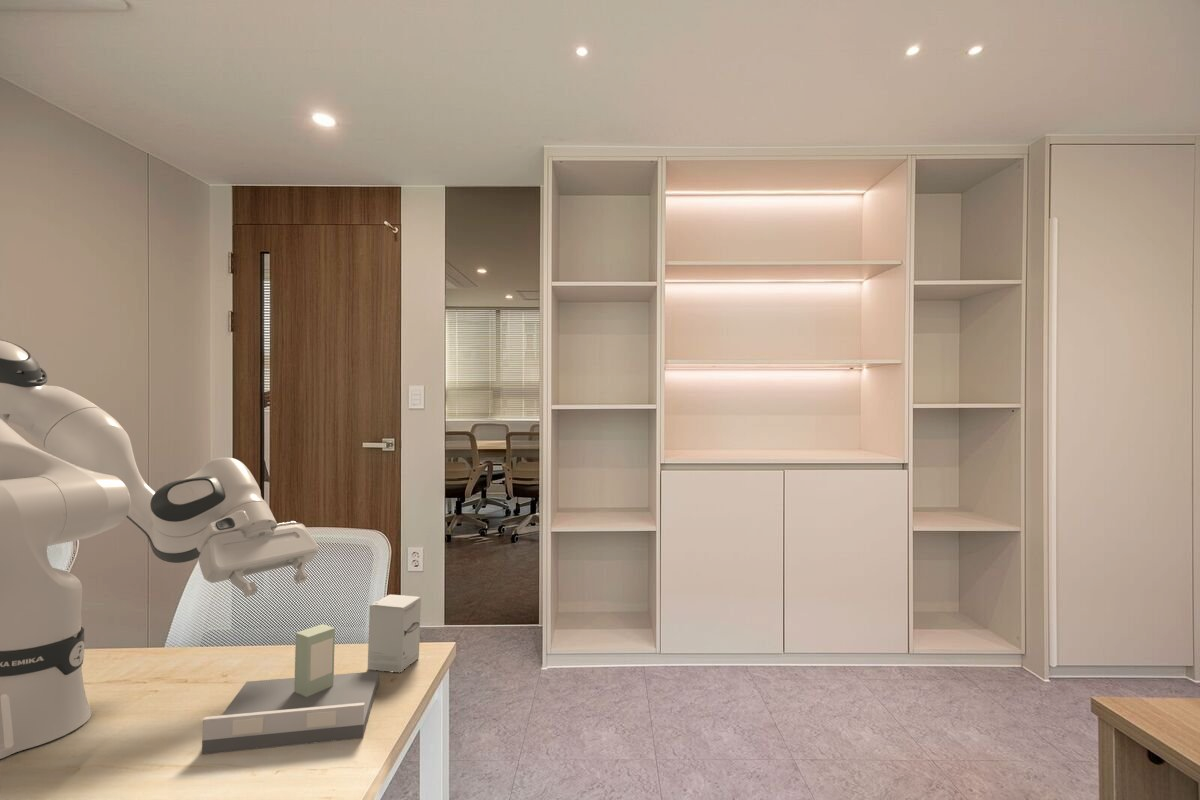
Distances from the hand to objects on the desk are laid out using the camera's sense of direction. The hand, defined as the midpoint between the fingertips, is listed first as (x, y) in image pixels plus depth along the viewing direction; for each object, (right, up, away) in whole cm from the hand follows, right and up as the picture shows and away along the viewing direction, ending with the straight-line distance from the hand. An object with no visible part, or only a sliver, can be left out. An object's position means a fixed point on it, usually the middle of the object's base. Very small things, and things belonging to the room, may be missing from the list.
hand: (277, 587), depth 109 cm
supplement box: (+18, -18, +8) cm, 27 cm away
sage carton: (+10, -15, -7) cm, 19 cm away
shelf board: (+10, -17, -11) cm, 23 cm away
